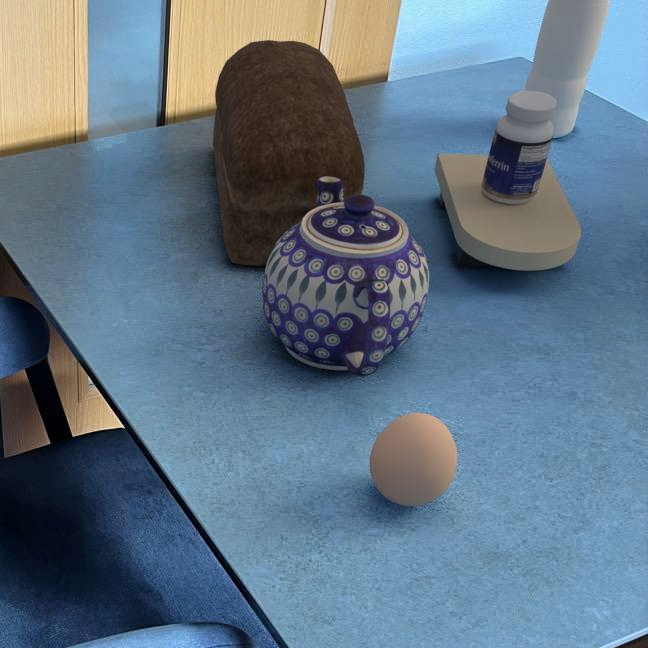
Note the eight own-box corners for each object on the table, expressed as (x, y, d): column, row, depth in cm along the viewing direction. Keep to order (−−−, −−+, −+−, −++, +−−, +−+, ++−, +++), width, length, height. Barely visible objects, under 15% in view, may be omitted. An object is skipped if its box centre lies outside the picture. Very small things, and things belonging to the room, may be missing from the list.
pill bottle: (470, 185, 111) (492, 91, 104) (518, 178, 112) (544, 85, 105) (496, 209, 107) (521, 113, 100) (546, 202, 108) (574, 107, 101)
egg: (355, 513, 82) (371, 436, 77) (370, 462, 87) (386, 386, 81) (440, 532, 81) (463, 455, 75) (451, 479, 85) (473, 402, 79)
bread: (323, 144, 131) (340, 10, 120) (360, 275, 108) (386, 125, 97) (207, 144, 131) (214, 11, 120) (220, 275, 109) (230, 126, 97)
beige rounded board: (428, 194, 120) (437, 153, 117) (534, 197, 120) (546, 155, 116) (458, 295, 105) (469, 251, 101) (579, 298, 104) (594, 254, 101)
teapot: (440, 421, 90) (480, 271, 80) (270, 422, 91) (287, 273, 80) (389, 273, 108) (417, 134, 98) (247, 274, 109) (259, 136, 98)
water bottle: (565, 144, 129) (633, -82, 112) (508, 133, 132) (565, -89, 114) (577, 123, 133) (644, -97, 116) (522, 113, 136) (579, -104, 118)
